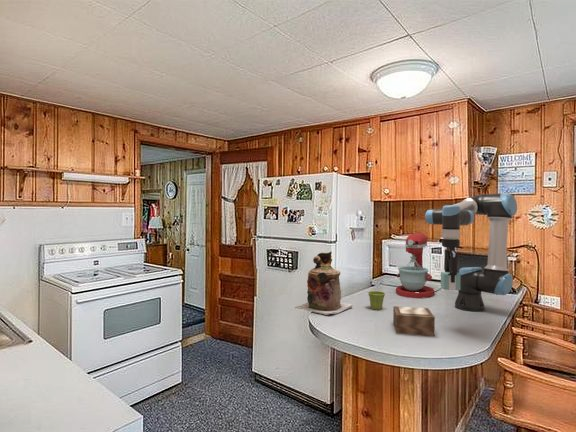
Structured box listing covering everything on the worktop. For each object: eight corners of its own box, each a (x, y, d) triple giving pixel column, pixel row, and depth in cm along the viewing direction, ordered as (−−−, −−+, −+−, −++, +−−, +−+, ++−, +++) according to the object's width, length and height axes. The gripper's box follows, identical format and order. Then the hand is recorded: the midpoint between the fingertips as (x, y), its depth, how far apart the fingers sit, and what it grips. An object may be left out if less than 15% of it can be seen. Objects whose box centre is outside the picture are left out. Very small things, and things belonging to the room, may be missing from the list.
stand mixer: (390, 295, 241) (391, 233, 240) (403, 287, 267) (404, 231, 267) (428, 300, 228) (429, 235, 227) (438, 291, 254) (439, 233, 254)
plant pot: (385, 311, 202) (385, 295, 202) (367, 309, 204) (368, 294, 204) (384, 306, 211) (384, 291, 211) (367, 305, 213) (367, 290, 213)
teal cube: (456, 287, 175) (456, 272, 175) (460, 290, 169) (460, 274, 168) (440, 286, 177) (440, 271, 177) (443, 289, 170) (444, 274, 170)
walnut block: (427, 324, 177) (428, 307, 177) (434, 335, 162) (434, 316, 162) (393, 322, 181) (393, 305, 180) (396, 332, 165) (396, 313, 165)
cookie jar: (318, 301, 223) (318, 247, 223) (354, 308, 208) (355, 251, 207) (292, 309, 204) (293, 251, 204) (330, 317, 189) (331, 254, 188)
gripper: (437, 236, 183) (437, 283, 183) (447, 239, 163) (446, 291, 164) (454, 237, 181) (453, 283, 182) (465, 240, 162) (464, 292, 162)
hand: (450, 287), depth 173 cm, fingers closed on teal cube, 7 cm apart
